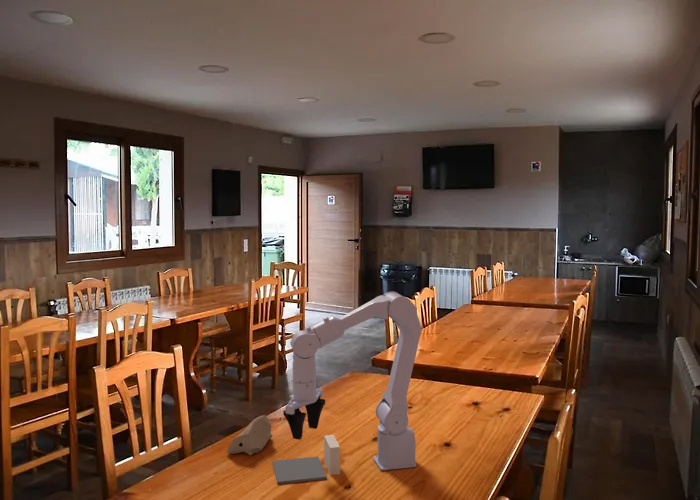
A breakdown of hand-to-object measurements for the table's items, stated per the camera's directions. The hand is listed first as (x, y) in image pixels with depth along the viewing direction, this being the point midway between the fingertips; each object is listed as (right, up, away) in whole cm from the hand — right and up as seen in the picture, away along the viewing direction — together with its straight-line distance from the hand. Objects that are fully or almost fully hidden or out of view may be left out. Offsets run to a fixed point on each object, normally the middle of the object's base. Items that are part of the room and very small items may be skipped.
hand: (305, 433), depth 149 cm
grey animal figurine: (-16, -9, +15) cm, 24 cm away
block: (+7, -10, +3) cm, 12 cm away
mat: (-2, -10, +1) cm, 10 cm away
